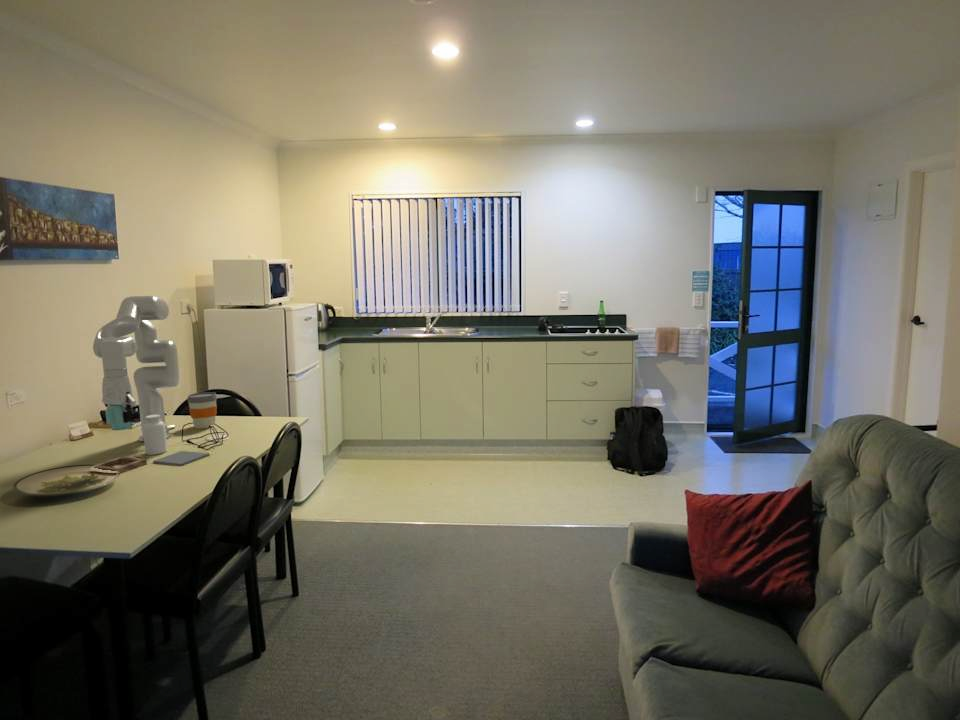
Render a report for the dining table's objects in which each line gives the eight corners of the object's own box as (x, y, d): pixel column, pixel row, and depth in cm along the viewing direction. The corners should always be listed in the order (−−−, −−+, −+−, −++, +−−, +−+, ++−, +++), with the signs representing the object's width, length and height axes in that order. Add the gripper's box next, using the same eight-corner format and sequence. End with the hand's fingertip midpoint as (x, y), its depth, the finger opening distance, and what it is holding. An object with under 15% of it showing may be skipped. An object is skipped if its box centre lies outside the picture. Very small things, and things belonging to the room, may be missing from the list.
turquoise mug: (122, 425, 242) (120, 402, 241) (135, 426, 240) (132, 402, 239) (102, 431, 235) (99, 406, 233) (115, 432, 232) (112, 407, 231)
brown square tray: (121, 461, 248) (120, 456, 247) (146, 463, 243) (146, 459, 243) (90, 471, 236) (89, 466, 235) (116, 474, 231) (116, 469, 231)
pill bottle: (145, 456, 254) (141, 419, 252) (145, 451, 261) (141, 415, 259) (167, 453, 257) (164, 416, 255) (167, 448, 264) (163, 412, 262)
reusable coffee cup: (206, 430, 294) (203, 397, 292) (184, 428, 298) (181, 396, 296) (224, 423, 306) (222, 392, 304) (202, 422, 310) (199, 391, 307)
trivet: (181, 452, 257) (181, 450, 257) (209, 455, 252) (209, 453, 252) (153, 463, 244) (152, 460, 244) (181, 465, 239) (181, 463, 239)
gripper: (89, 374, 235) (94, 422, 238) (124, 376, 229) (129, 425, 231) (107, 371, 242) (112, 417, 245) (142, 372, 236) (147, 420, 238)
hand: (120, 420), depth 238 cm, fingers closed on turquoise mug, 6 cm apart
